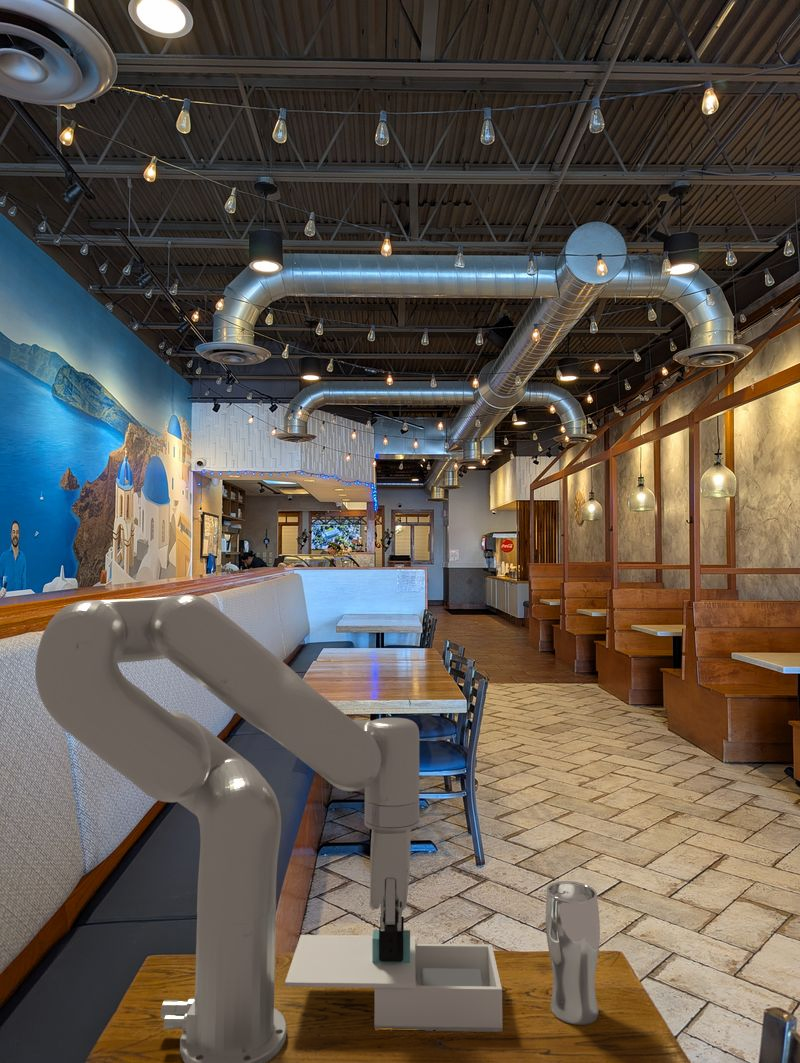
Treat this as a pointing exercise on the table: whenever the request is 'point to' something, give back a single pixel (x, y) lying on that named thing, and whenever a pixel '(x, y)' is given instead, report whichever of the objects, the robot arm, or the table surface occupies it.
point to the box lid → (350, 963)
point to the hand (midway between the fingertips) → (391, 952)
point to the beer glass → (573, 950)
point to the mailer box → (445, 994)
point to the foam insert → (450, 977)
